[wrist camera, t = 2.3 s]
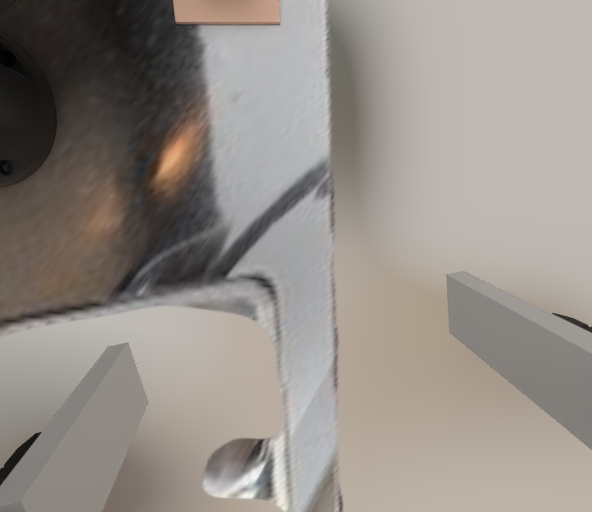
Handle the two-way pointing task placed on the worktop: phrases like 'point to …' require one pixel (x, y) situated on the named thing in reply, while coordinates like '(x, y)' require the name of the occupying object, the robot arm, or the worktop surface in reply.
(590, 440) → the robot arm
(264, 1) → the mat
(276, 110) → the worktop surface
